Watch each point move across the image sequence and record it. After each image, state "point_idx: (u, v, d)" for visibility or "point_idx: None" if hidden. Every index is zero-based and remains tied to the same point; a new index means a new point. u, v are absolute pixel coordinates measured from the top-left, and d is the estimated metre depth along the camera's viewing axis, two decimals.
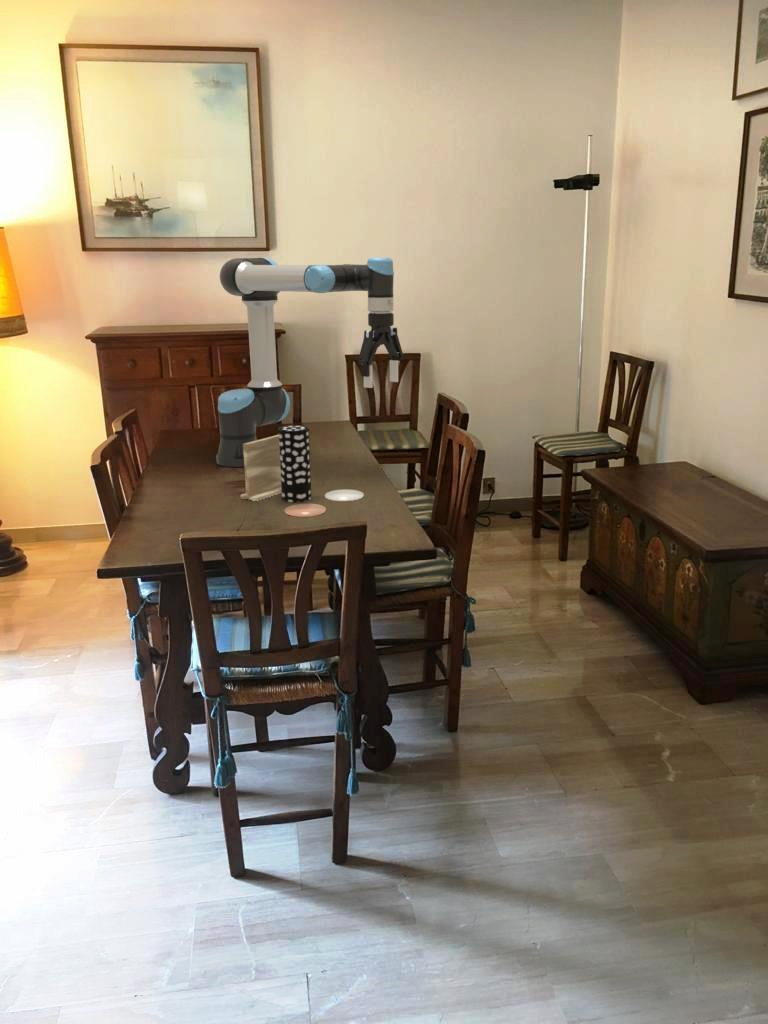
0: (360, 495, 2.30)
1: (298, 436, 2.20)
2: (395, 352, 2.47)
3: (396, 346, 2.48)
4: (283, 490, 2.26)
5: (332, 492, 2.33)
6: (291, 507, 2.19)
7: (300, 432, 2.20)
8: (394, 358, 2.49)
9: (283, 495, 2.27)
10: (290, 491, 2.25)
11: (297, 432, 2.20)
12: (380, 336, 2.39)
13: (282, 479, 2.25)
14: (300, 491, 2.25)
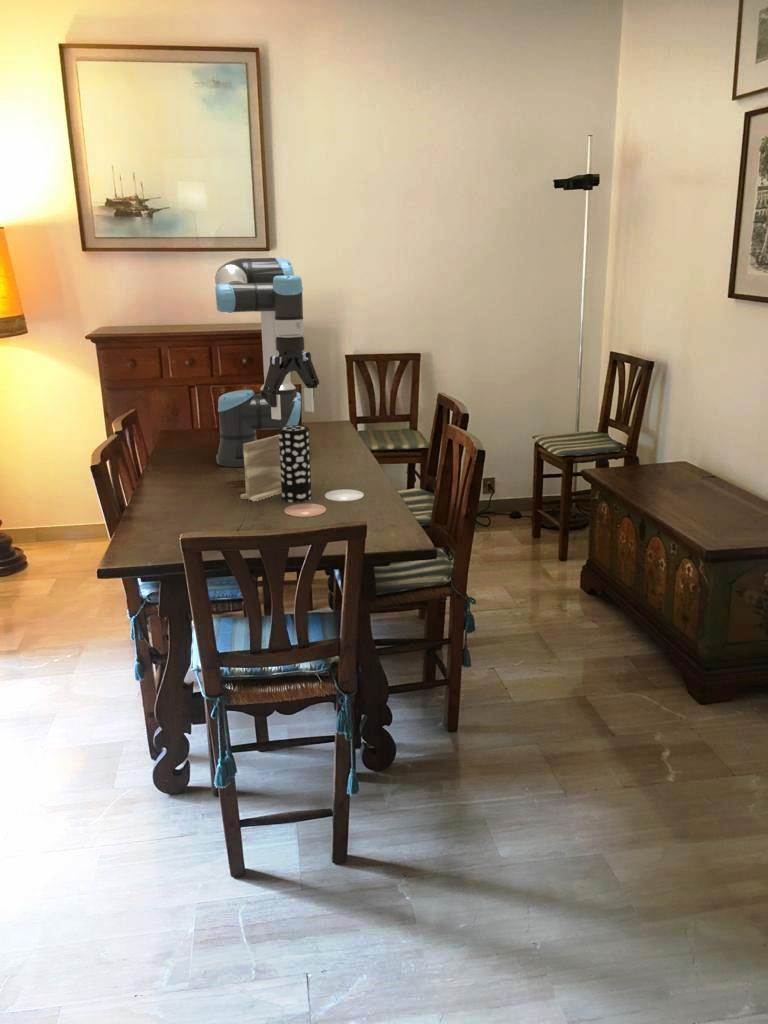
0: (360, 495, 2.30)
1: (298, 436, 2.20)
2: (308, 379, 2.23)
3: (310, 372, 2.24)
4: (283, 490, 2.26)
5: (332, 492, 2.33)
6: (291, 507, 2.19)
7: (300, 432, 2.20)
8: (309, 386, 2.26)
9: (283, 495, 2.27)
10: (290, 491, 2.25)
11: (297, 432, 2.20)
12: (289, 362, 2.15)
13: (282, 479, 2.25)
14: (300, 491, 2.25)
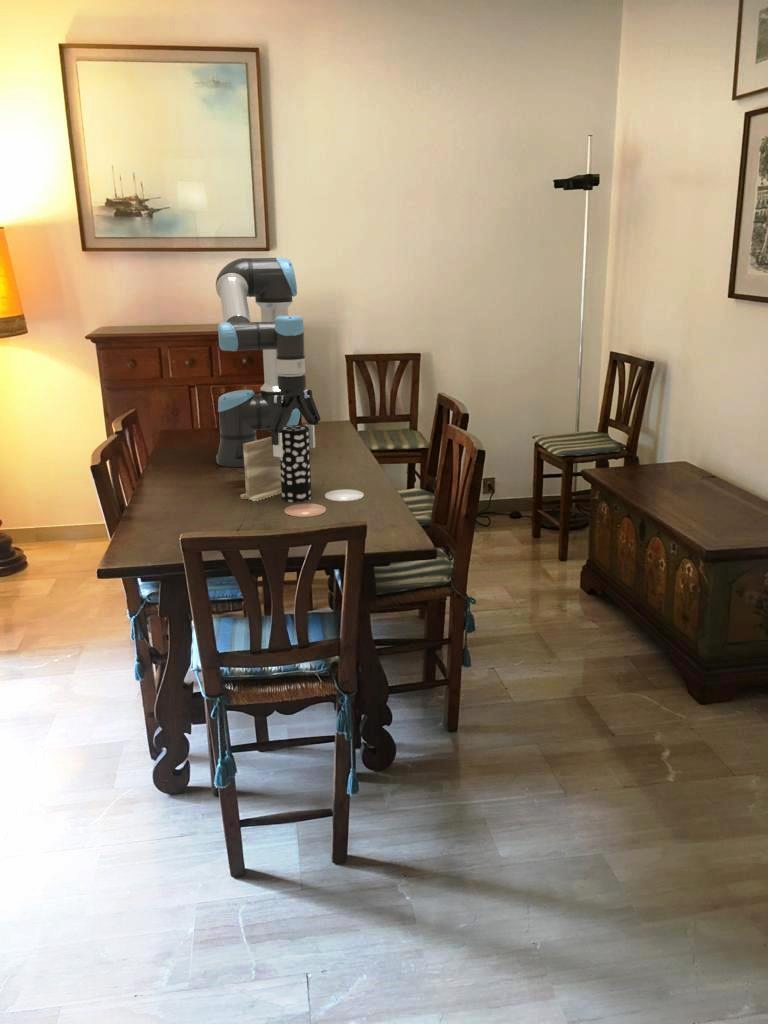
0: (360, 495, 2.30)
1: (298, 436, 2.20)
2: (310, 416, 2.26)
3: (312, 409, 2.28)
4: (283, 490, 2.26)
5: (332, 492, 2.33)
6: (291, 507, 2.19)
7: (300, 432, 2.20)
8: (310, 422, 2.29)
9: (283, 495, 2.27)
10: (290, 491, 2.25)
11: (297, 432, 2.20)
12: (290, 401, 2.18)
13: (282, 479, 2.25)
14: (300, 491, 2.25)
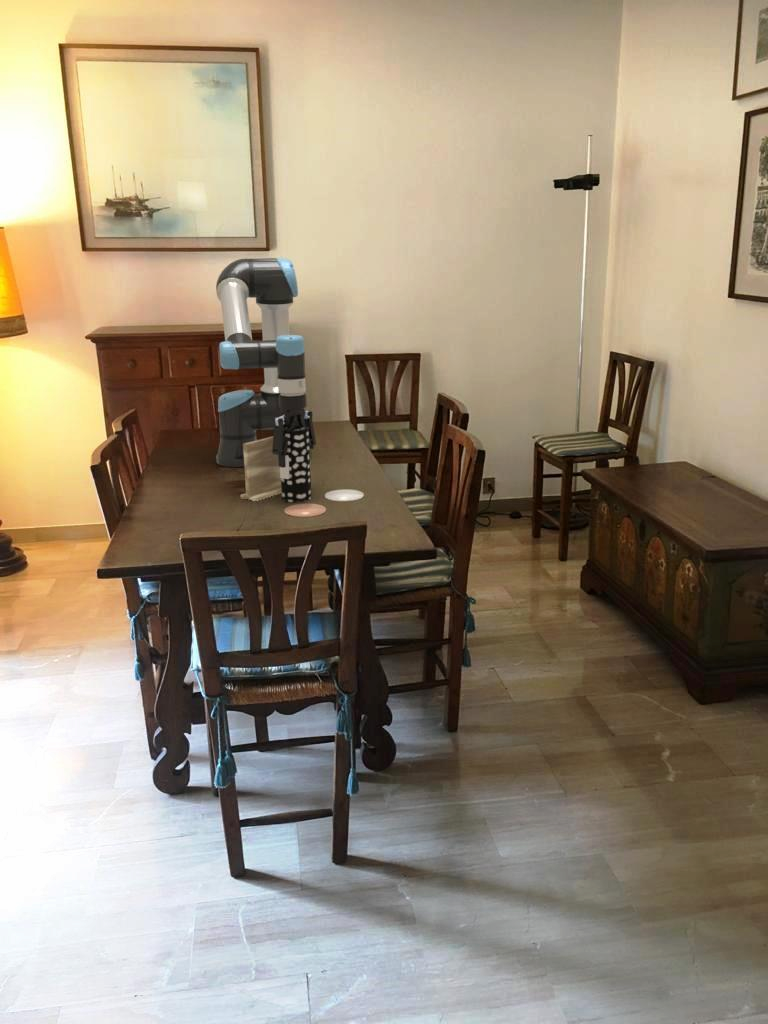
0: (360, 495, 2.30)
1: (298, 436, 2.20)
2: None
3: (309, 432, 2.28)
4: (283, 490, 2.26)
5: (332, 492, 2.33)
6: (291, 507, 2.19)
7: (300, 432, 2.20)
8: None
9: (283, 495, 2.27)
10: (290, 491, 2.25)
11: (297, 432, 2.20)
12: (292, 421, 2.20)
13: (282, 479, 2.25)
14: (300, 491, 2.25)
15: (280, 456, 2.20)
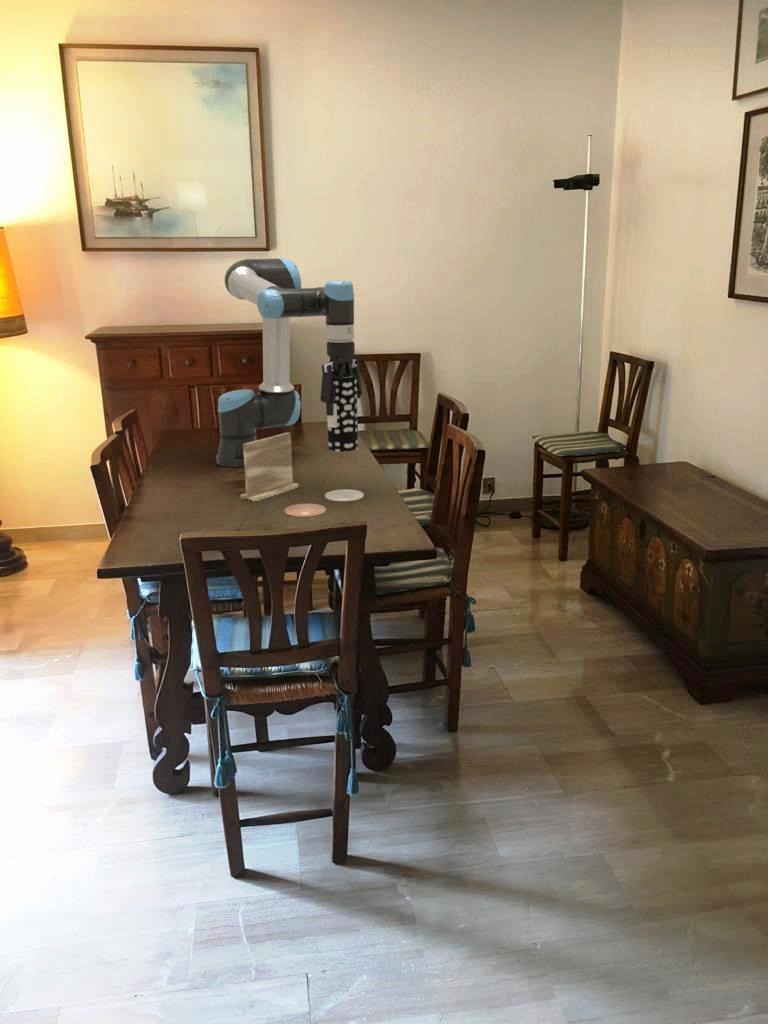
0: (360, 495, 2.30)
1: (346, 384, 2.18)
2: None
3: None
4: (330, 439, 2.23)
5: (332, 492, 2.33)
6: (291, 507, 2.19)
7: (349, 379, 2.17)
8: None
9: (330, 445, 2.24)
10: (337, 440, 2.22)
11: (346, 379, 2.17)
12: (340, 368, 2.17)
13: (329, 428, 2.23)
14: (347, 440, 2.22)
15: (328, 404, 2.18)
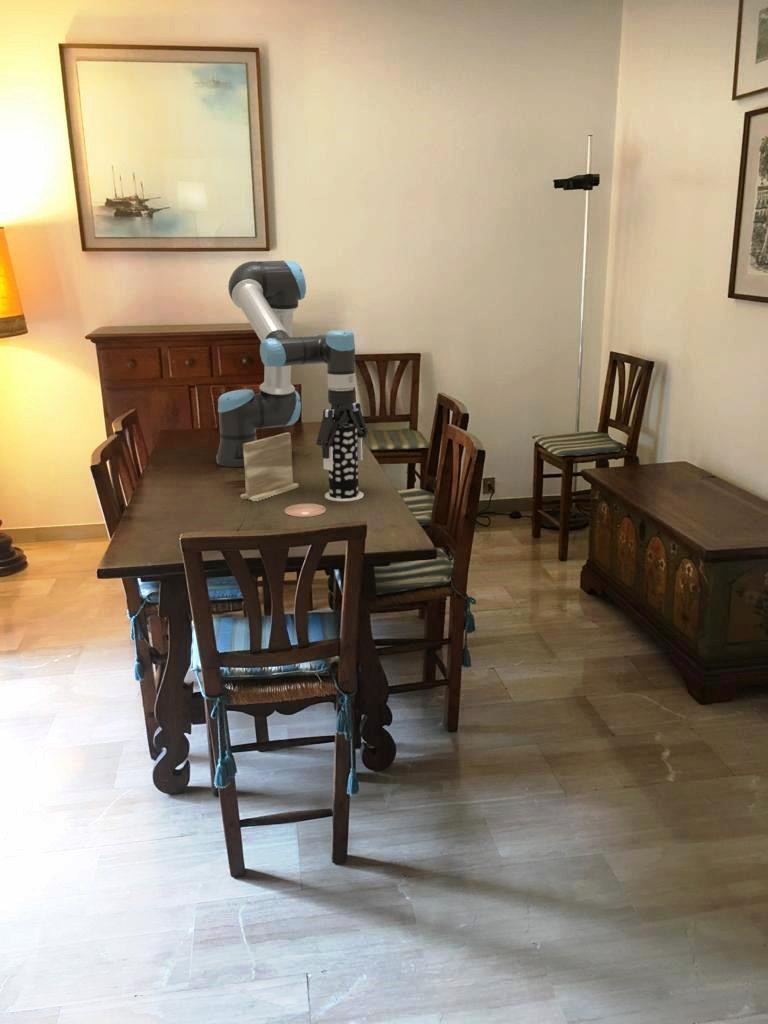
0: (360, 495, 2.30)
1: (347, 433, 2.22)
2: (358, 429, 2.29)
3: (360, 422, 2.30)
4: (331, 487, 2.28)
5: None
6: (291, 507, 2.19)
7: (349, 429, 2.22)
8: (358, 435, 2.32)
9: (331, 492, 2.28)
10: (338, 488, 2.26)
11: (346, 429, 2.21)
12: (341, 415, 2.21)
13: (330, 475, 2.27)
14: (348, 488, 2.26)
15: (324, 447, 2.19)
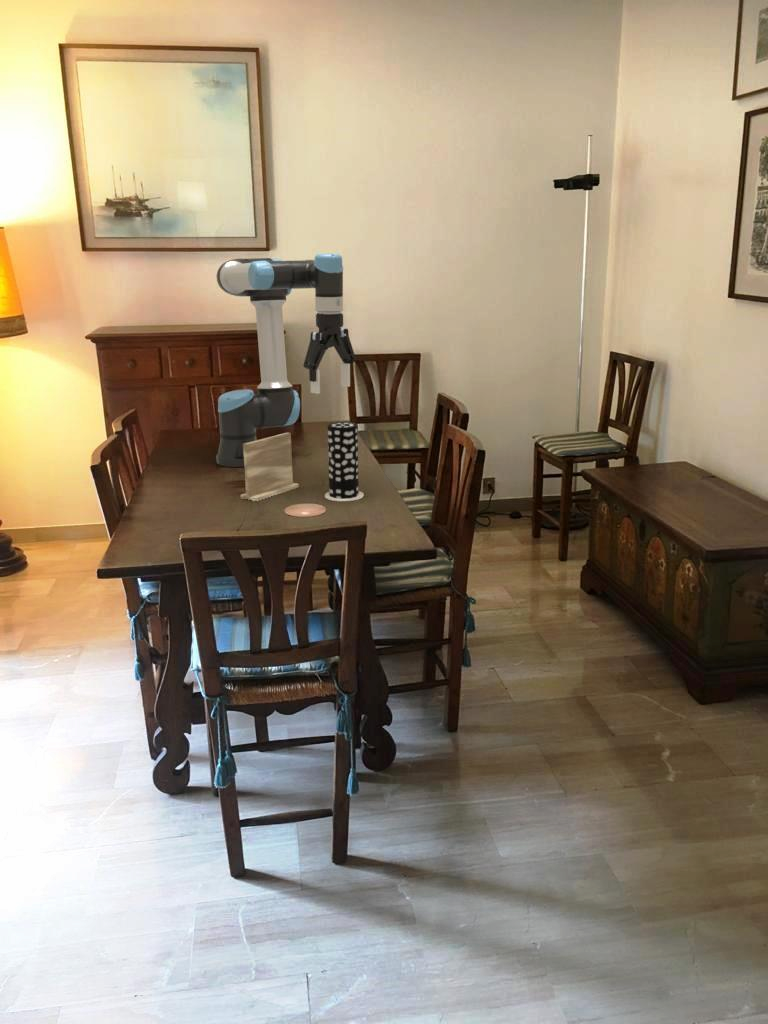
0: (360, 495, 2.30)
1: (347, 433, 2.22)
2: (346, 355, 2.31)
3: (348, 348, 2.32)
4: (331, 486, 2.28)
5: None
6: (291, 507, 2.19)
7: (350, 429, 2.22)
8: (346, 361, 2.33)
9: (331, 491, 2.28)
10: (338, 487, 2.26)
11: (347, 429, 2.21)
12: (328, 338, 2.23)
13: (330, 475, 2.27)
14: (348, 487, 2.26)
15: (311, 370, 2.21)
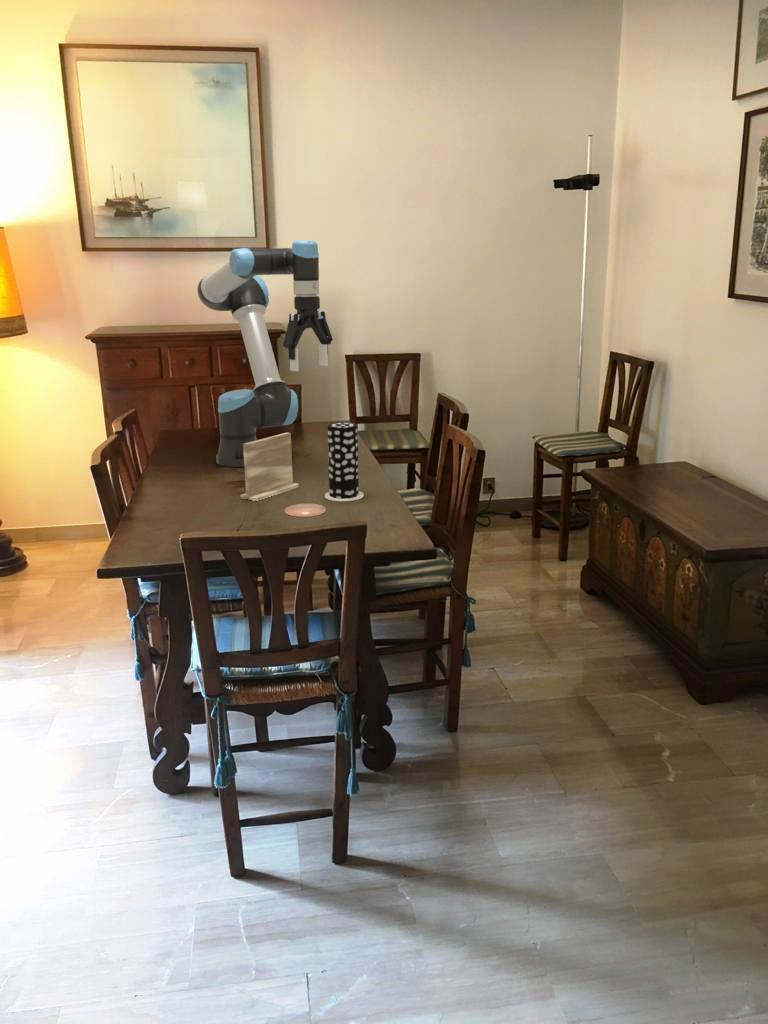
0: (360, 495, 2.30)
1: (347, 433, 2.22)
2: (323, 336, 2.47)
3: (325, 330, 2.48)
4: (331, 487, 2.27)
5: None
6: (291, 507, 2.19)
7: (350, 429, 2.22)
8: (323, 342, 2.49)
9: (331, 491, 2.28)
10: (338, 488, 2.26)
11: (347, 429, 2.21)
12: (306, 319, 2.39)
13: (330, 475, 2.27)
14: (348, 488, 2.26)
15: (290, 349, 2.37)
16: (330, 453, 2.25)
